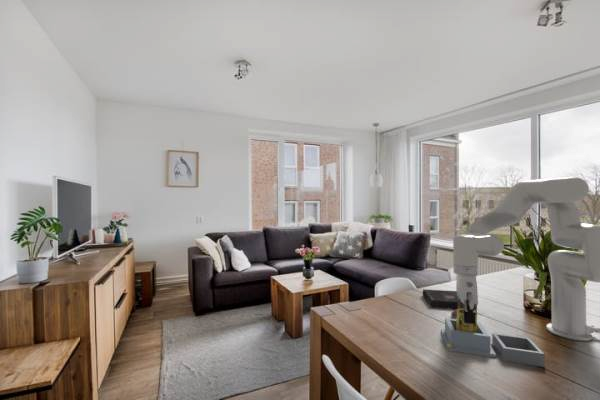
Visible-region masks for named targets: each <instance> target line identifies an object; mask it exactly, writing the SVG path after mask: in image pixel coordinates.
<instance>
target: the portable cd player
mask: <svg viewBox="0 0 600 400" xmlns="http://www.w3.org/2000/svg"><path fill="white" fill-rule="evenodd" d="M422 297H423V299H425V301H426V302H427V304H428V305H429V307H431V309H447V310H448V309H449V310H456V309H457V303H458V296H457V291H456V290H443V289H424V288H423V289H422Z"/></svg>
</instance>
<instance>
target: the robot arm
mask: <svg viewBox="0 0 600 400" xmlns="http://www.w3.org/2000/svg"><path fill="white" fill-rule="evenodd" d="M589 192H590V187H589V184H588V183H587V181H586V180H584V179H583V178H580V177H564V178H563V177H560V178H546V179H532V180H531V179H530V180H521V181H519V182H516V183H515V184H514V185H513V186H512V187H511V188H510V190H509V191H508V192H507V193H506V195H504V197H503V198H502V200H501V201H500V202H499V204H497V206H496V207H495V208H494V209H492V210H490V211H489V212H486V213H485V214H483V215H481V216H480V217H478V218H477V219H475V220H474V221H473V222H472V223H470V225H469V226H468V227H467V228H466V229H465V231H464V233H462V234H456V235H454V236H453V239H452V240H453V241H452V243H453V247H452V248H453V249H452V250H453V252H452V253H453V255H452V256H453V261H452V262H453V263H452V264H453V265H452V266H453V273H454V274H456V282H455V283H456V284H455V285H456V287H455V288H456V290H455V291H457V296H458V301H459V300H460V301H461V302H462V303H463V304H464V308H465V311H464V322H465V323H470V324H475V308H474V304H475V305H477V306H478V305H479V293H478V282H477V277H478V276H479V256H486V257H494V256H499V255H500V254H501V253H502V252H503V251H504V249H505V245H504V244H505V243H504V241H503V240H502V238H500V237H499V236H496V235H494V234H490V233H491V232H492V231H495V230H497V229H502V228H505V227H510V226H512V225H515V224H518V223H519V222H521V220H523V217H525V216H526V214H527V213H528V211H530V209H531V208H532V206H533V205H534V204H543V205H544V207H545V208H546V210H547V212H548V217H549V228H550V230H549V231H550V238H551V241H552V243H553V244H554V245H556V246H559V247H563V248H569V249H573V250H575V249H576V250H582V251H583V252H579V251H573V250H567V249H557V250H553V251H551V252H550V253H549V255H548V256H547V259H546V260H547V266H548V267H547V268H548V271H549V274H550V275H549V276H550V282H551V283H550V285H551V286H550V287H551V288H550V292H551V296H550V298H551V309H550V310H551V322H549V323H547V324H546V330H548V331H549V332H550V333H551V334H554V335H557V336H559V337H562V338H565V339H569V340H572V341H573V340H574V341H580V342H589V341H592V340H593V335H592V334H593V333H596V334H600V327H598V326H597V327H595V326H594V325H593V324H587V290H586V286H585V284H584V282H583V280H584V281H587V282H588V281H589V282H593V283H600V225H598V224H592V223H591V224H590V223H582V221H581V215H580V209H579V206H578V205H577V204H576V202H580V201H582V200H584V199H585V198H586V197H587V196H588V194H589ZM465 301H467V302H465ZM467 305H468V306H467Z"/></svg>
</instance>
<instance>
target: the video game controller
mask: <svg viewBox="0 0 600 400" xmlns="http://www.w3.org/2000/svg"><path fill="white" fill-rule="evenodd" d="M450 317H452V318H457V309H453V311H451V314H450Z"/></svg>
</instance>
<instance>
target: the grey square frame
mask: <svg viewBox="0 0 600 400" xmlns="http://www.w3.org/2000/svg"><path fill="white" fill-rule="evenodd" d="M491 335H492V340H491V341H492V346H493V347H494V349H495V350H496V352H497V353H498V355H499V356H500V357H501V359H502V361H503V362H504V361H505V362H510V363H516V364H522V365H530V366H536V367H542V368H546V354H545V353H544V352H543V351H542V349H540V348H539V346H537V344H535V342H534V341H533V340H532V339H531V338H530V337H526V336H518V335H509V334H502V333H495V332H492V334H491Z"/></svg>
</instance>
